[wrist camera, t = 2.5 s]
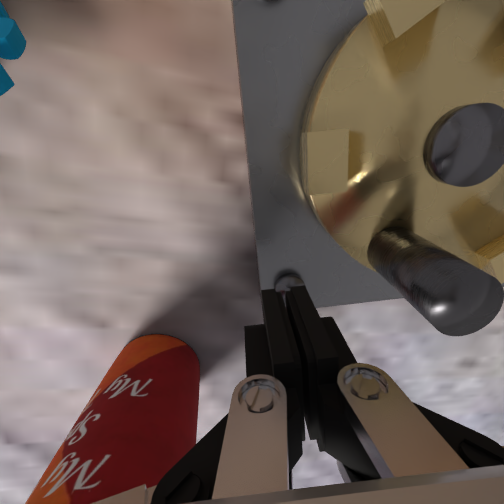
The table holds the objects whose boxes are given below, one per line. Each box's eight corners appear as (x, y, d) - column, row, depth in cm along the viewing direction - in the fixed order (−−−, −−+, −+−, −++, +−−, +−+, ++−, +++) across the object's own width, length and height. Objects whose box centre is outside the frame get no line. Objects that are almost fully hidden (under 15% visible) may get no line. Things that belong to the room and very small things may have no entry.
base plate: (226, -48, 13) (224, -89, 11) (616, -86, 13) (699, -133, 11) (260, 297, 20) (264, 319, 18) (520, 267, 20) (558, 286, 18)
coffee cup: (129, 301, 20) (-128, 708, 6) (235, 349, 22) (237, 740, 8) (84, 384, 22) (-173, 814, 8) (183, 421, 24) (112, 817, 10)
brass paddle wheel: (401, -105, 11) (651, -461, 4) (625, 64, 14) (994, -1, 7) (255, 210, 15) (271, 268, 9) (448, 293, 18) (574, 388, 11)
